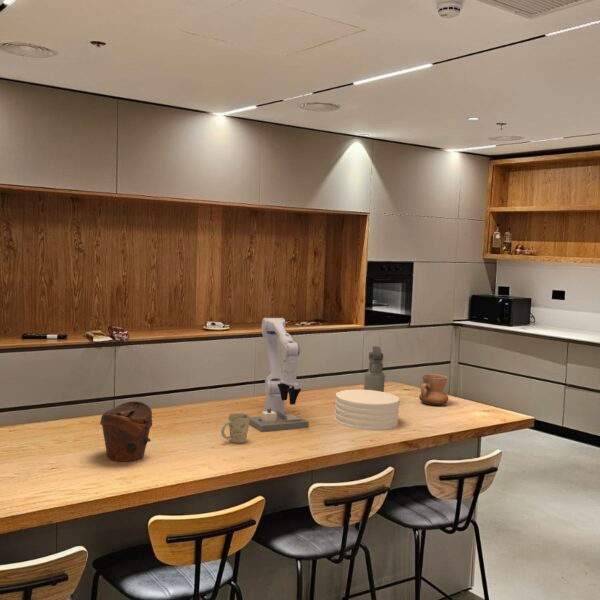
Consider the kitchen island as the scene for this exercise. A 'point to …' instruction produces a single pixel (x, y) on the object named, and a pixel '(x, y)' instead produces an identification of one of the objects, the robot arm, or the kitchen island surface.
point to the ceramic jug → (433, 389)
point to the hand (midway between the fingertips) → (288, 402)
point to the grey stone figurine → (375, 371)
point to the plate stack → (366, 409)
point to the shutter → (287, 417)
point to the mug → (237, 427)
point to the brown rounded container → (126, 430)
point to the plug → (268, 416)
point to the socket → (277, 424)
